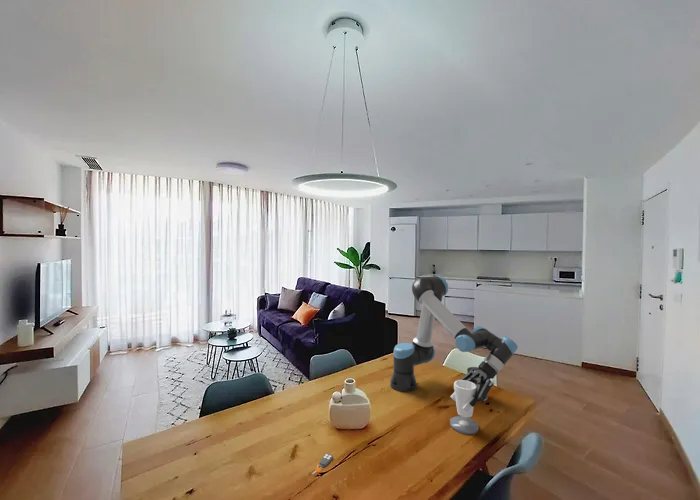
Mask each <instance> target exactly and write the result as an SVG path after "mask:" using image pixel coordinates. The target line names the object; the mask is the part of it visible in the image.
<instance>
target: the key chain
mask: <svg viewBox="0 0 700 500" xmlns="http://www.w3.org/2000/svg"><path fill="white" fill-rule="evenodd" d="M333 459H334V455H332V454H330V453H325V454H324V455H323V457H322V458H321V460H320V461H319V464H317V465H316V467H315V468H314V471H313V472H312V473H311V474H312V475H314V474H316V473H321V472H322V468H325V467H327V466H328V465H329V463H331V462H332V461H333Z"/></svg>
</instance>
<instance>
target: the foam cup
mask: <svg viewBox="0 0 700 500" xmlns="http://www.w3.org/2000/svg"><path fill="white" fill-rule="evenodd" d="M476 388H477V386H476V385H475V384H474V383H472V382H470V381H466V380H460V379H457V380H455V381H454V382H453V390H454V392H455V398H456V400H455V405H456V411H457V412H456V413H457V415H458V416H462V417H467V418H472V417H473V414H474V407H475V405H474V406H473V407H472V408H471V409H470V410H469V411H468V413H467V412H466V411H465V410H464V409H463V407H464V405H465V404H466V403H467V402H468V401H469V399H470V398H471V397H473V396H474V395H475V392H476Z"/></svg>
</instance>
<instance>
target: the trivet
mask: <svg viewBox="0 0 700 500" xmlns="http://www.w3.org/2000/svg"><path fill="white" fill-rule="evenodd" d="M449 426H450V427H451V428H452V430H454V431H456V432H458V433H460V434H463V435H475V434H477V433H478V432H479V424H478V423H477V422H476V420H474V419H472V418H471V417H462V416H460V415H457V416H453V417H451V418H450V419H449Z"/></svg>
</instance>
